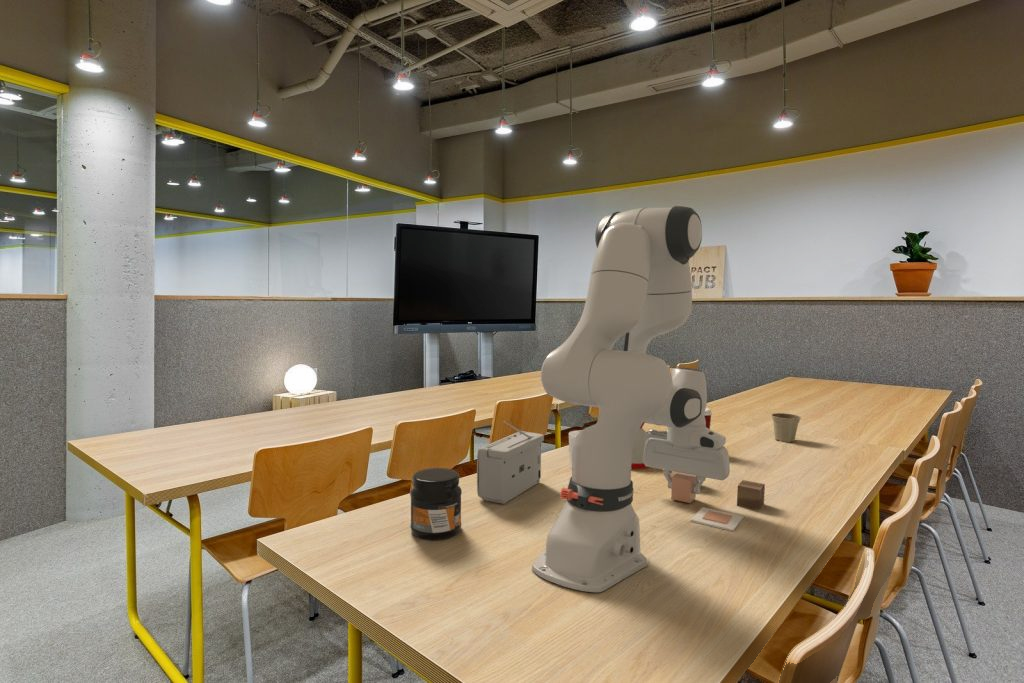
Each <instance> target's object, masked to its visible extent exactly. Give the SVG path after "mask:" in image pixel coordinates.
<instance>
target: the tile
mask: <svg viewBox="0 0 1024 683" xmlns="http://www.w3.org/2000/svg"><path fill="white" fill-rule="evenodd" d="M743 519H744V516H743V515H740V514H735V513H731V512H726V511H721V510H718V509H714V508H713V509H711V508H708V507H703V506H702V507H701V508H700V509H699V510H698V511H697V512H696V513H695V514H694V516H692V517H691V518H690V519H689V520H690V521H689V522H691V523H696V524H701V525H703V526H708V527H713V528H718V529H722V530H725V531H729V532H734V531H735V530H736V529H737V527H738V526H739V524H740V523H741V522H742V521H743Z"/></svg>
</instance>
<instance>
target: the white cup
mask: <svg viewBox="0 0 1024 683" xmlns="http://www.w3.org/2000/svg"><path fill="white" fill-rule="evenodd" d="M582 430H583V429H579V430H571V431H569V432H568V452H569V454H568V455H569V467H570V469H571V470H572V449H573V441H574V439H575V437H576V436H577V434H578V433H579V432H580V431H582Z"/></svg>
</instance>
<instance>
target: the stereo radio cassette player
mask: <svg viewBox="0 0 1024 683" xmlns="http://www.w3.org/2000/svg"><path fill="white" fill-rule="evenodd" d="M502 422H503V423H504V424H506V425H507V426H509V427H511V428H512V429H513V430H515V431H516V432H515V433H512V434H510V435H507V436H505V437H503V438H501V439H498V440H496V441H494V442H490V443H489V444H486V445H484V446H481V447H479V448H478V450H477V455H476V456H477V457H476V458H477V459H476V460H477V461H476V491H477V497H479V498H481V500H483V501H484V502H485V501H487V502H491V503H497V504H498V503H499V504H501V505H505V504H506V503H508V502H509V501H510V500H513V499H514V498H516V497H518V496H519V495H521V494H523V493H524V492H526V491H527V490H529V489H530V488H532V487H534V486H535V485H538V484H539V483H540V480H541V477H542V474H541V473H542V471H541V470H542V443H543V442H545V441H544V439H545V436H544V434H542V433H538V432H537V433H536V432H529V431H523V430H520V429H518V428H517V427H515V426H513V425H511V424H510V423H508V422H506V420H502Z"/></svg>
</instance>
